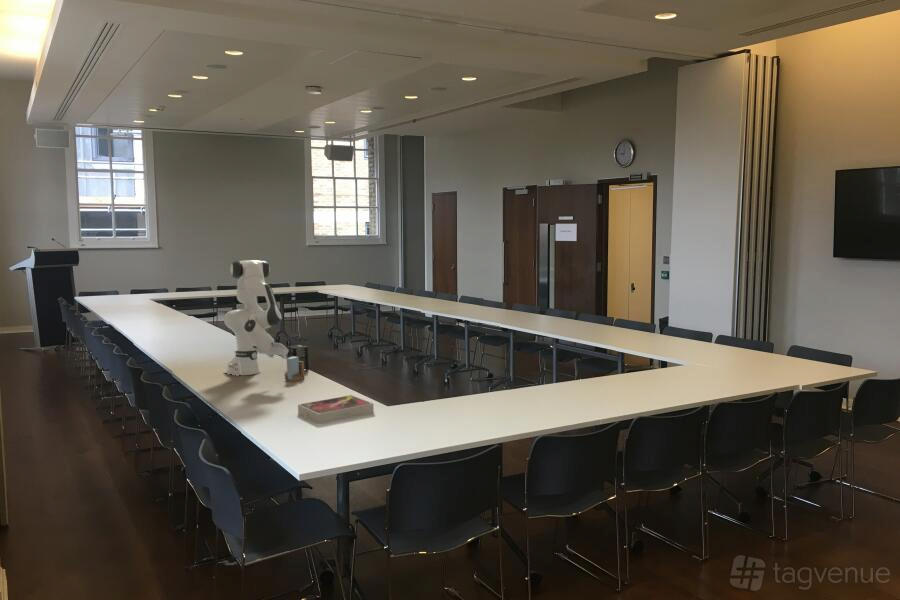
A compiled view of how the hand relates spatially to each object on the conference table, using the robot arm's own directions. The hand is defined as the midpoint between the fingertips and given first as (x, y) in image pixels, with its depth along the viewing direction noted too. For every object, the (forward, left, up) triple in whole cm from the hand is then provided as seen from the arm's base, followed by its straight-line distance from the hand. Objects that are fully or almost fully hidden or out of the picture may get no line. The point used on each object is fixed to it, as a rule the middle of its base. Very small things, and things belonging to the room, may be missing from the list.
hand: (278, 357), depth 398 cm
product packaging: (+67, -36, -16) cm, 78 cm away
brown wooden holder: (0, +12, -15) cm, 20 cm away
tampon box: (-17, +35, -16) cm, 42 cm away
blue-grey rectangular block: (0, +11, -14) cm, 18 cm away
